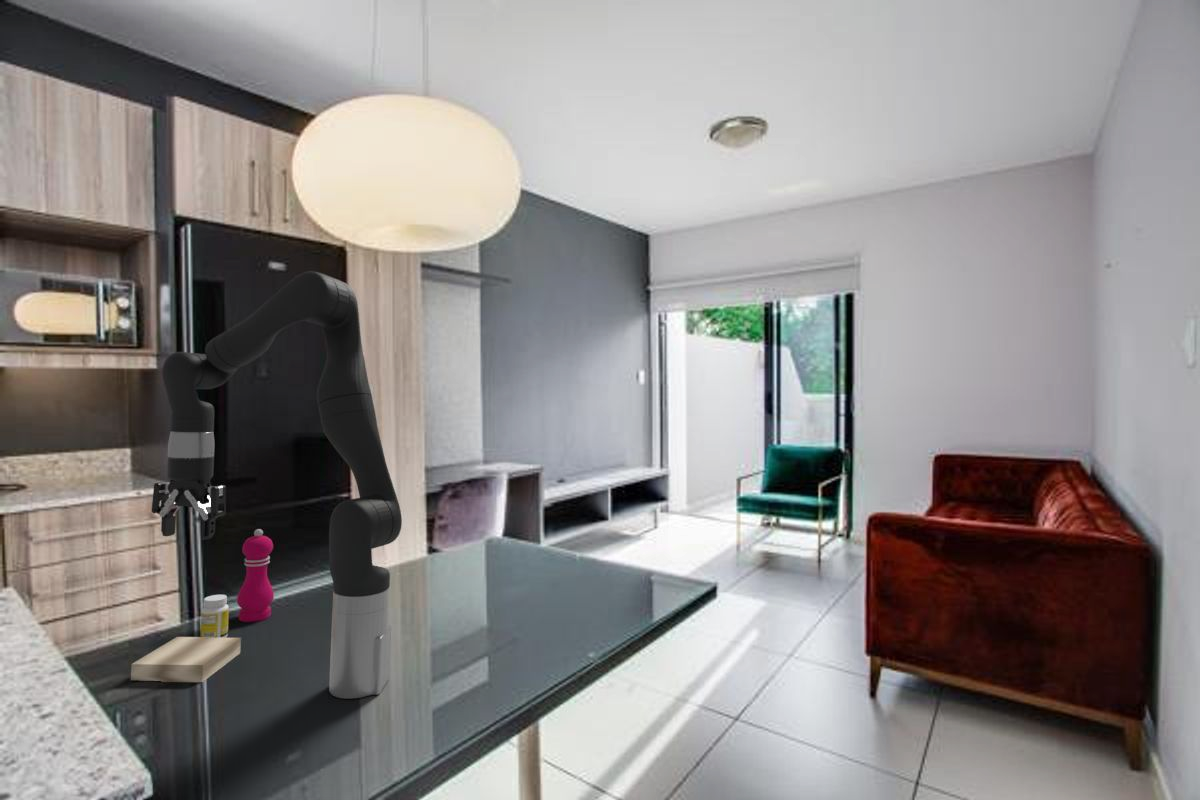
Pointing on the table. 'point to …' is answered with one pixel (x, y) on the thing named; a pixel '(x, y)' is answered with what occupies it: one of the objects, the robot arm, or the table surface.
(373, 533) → the robot arm
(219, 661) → the birch block
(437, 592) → the table surface
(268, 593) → the pepper mill
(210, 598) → the supplement bottle
